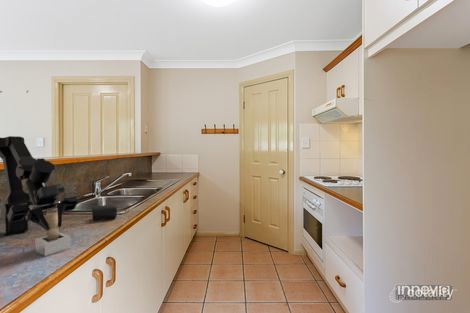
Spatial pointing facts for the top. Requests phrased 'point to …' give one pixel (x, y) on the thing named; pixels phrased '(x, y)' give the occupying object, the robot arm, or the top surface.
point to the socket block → (52, 244)
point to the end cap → (104, 212)
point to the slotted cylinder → (52, 223)
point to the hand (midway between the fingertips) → (54, 228)
